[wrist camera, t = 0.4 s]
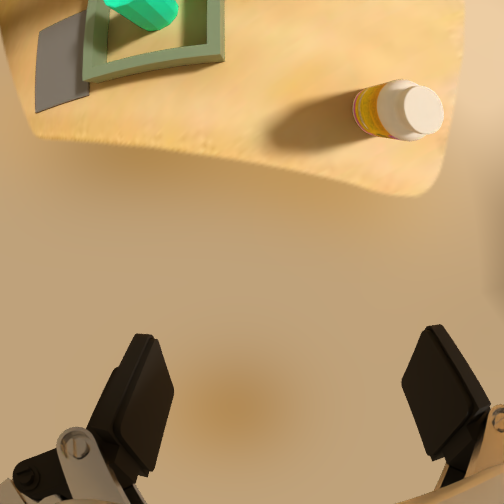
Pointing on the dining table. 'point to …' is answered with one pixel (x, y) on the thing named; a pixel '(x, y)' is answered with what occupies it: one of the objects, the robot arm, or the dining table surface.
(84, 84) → the rubber mat
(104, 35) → the box
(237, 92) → the dining table surface
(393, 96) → the supplement bottle
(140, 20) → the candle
